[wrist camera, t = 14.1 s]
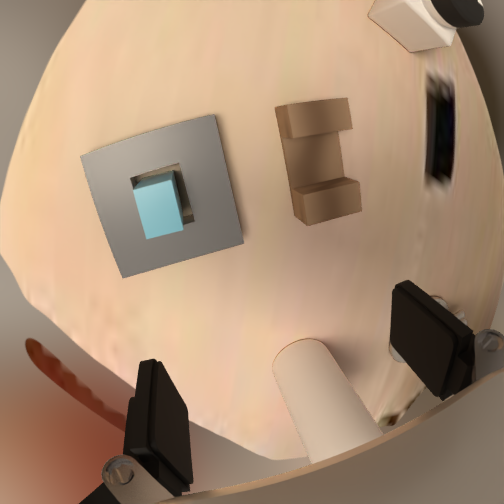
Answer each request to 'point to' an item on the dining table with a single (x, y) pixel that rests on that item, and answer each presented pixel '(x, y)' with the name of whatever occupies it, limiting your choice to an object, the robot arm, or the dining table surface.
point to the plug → (159, 204)
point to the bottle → (322, 401)
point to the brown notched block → (317, 159)
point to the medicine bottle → (425, 20)
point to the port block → (197, 186)
